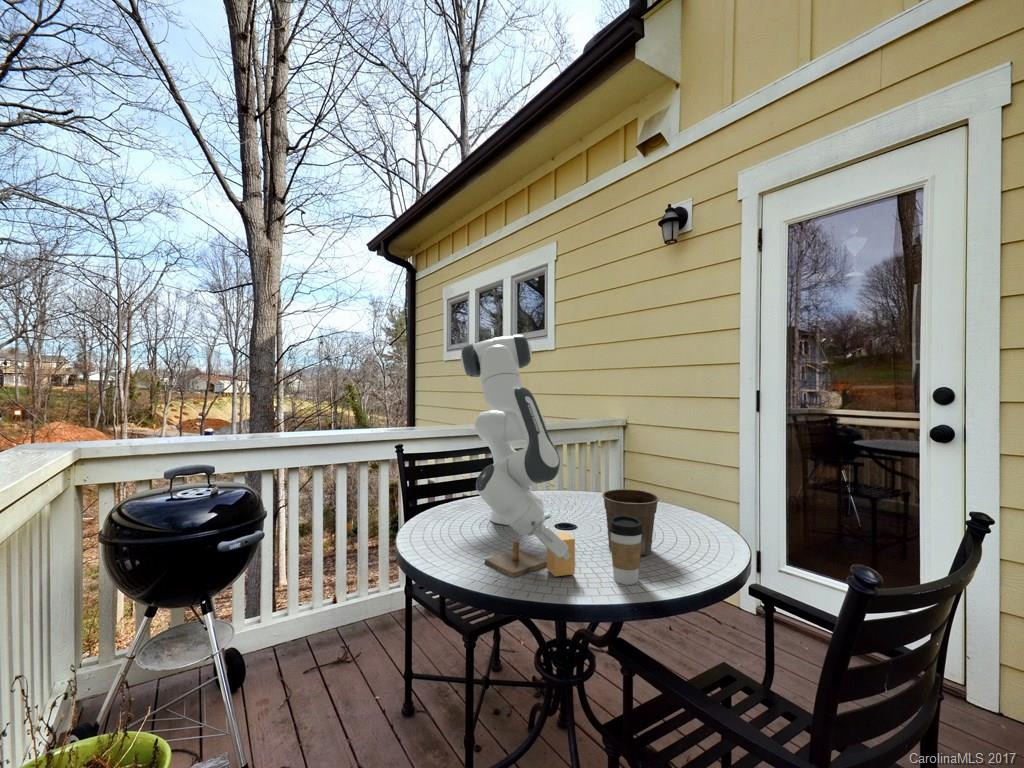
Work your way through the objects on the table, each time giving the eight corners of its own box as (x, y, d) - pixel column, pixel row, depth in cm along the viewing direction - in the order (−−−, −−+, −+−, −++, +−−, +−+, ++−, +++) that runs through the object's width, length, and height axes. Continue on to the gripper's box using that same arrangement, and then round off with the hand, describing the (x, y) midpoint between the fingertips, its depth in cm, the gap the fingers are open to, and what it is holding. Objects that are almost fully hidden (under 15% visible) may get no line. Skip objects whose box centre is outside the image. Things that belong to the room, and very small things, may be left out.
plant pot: (661, 562, 131) (662, 504, 131) (601, 558, 134) (601, 501, 134) (656, 542, 147) (656, 490, 147) (602, 539, 150) (602, 488, 150)
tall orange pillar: (547, 567, 126) (547, 533, 125) (566, 565, 127) (566, 532, 127) (554, 576, 120) (554, 540, 120) (574, 574, 122) (574, 538, 122)
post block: (518, 553, 138) (518, 531, 138) (547, 565, 129) (547, 542, 129) (484, 563, 130) (484, 540, 130) (512, 577, 121) (512, 553, 121)
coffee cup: (637, 572, 124) (637, 515, 124) (647, 586, 116) (648, 525, 116) (605, 573, 124) (605, 515, 124) (613, 587, 116) (613, 525, 115)
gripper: (549, 519, 112) (587, 557, 114) (523, 498, 131) (557, 530, 134) (531, 540, 110) (570, 577, 113) (508, 515, 130) (541, 547, 133)
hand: (563, 551), depth 124 cm, fingers closed on tall orange pillar, 5 cm apart
